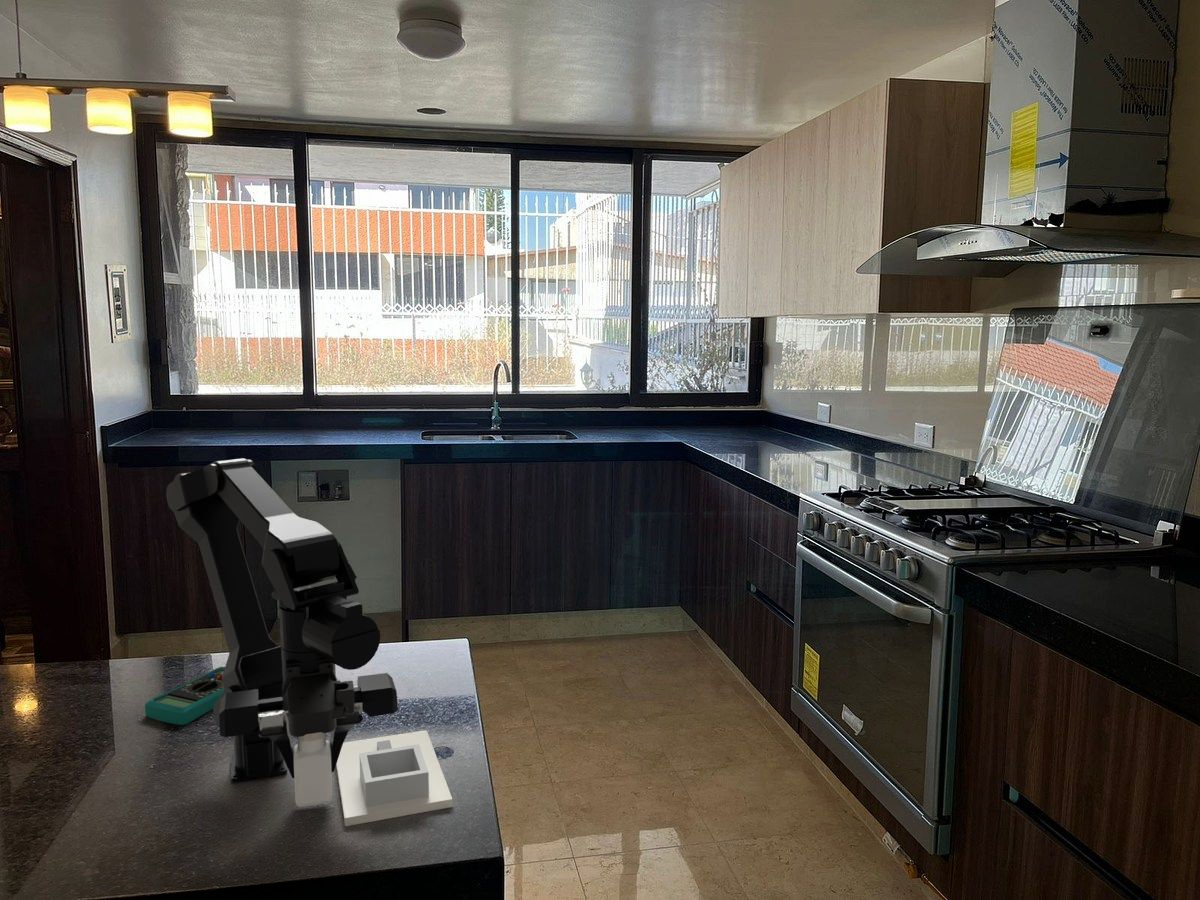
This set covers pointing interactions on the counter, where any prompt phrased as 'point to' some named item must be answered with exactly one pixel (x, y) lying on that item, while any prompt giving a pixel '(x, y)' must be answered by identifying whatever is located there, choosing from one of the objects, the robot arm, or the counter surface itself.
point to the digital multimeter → (187, 699)
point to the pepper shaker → (312, 770)
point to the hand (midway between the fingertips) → (313, 773)
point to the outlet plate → (390, 778)
